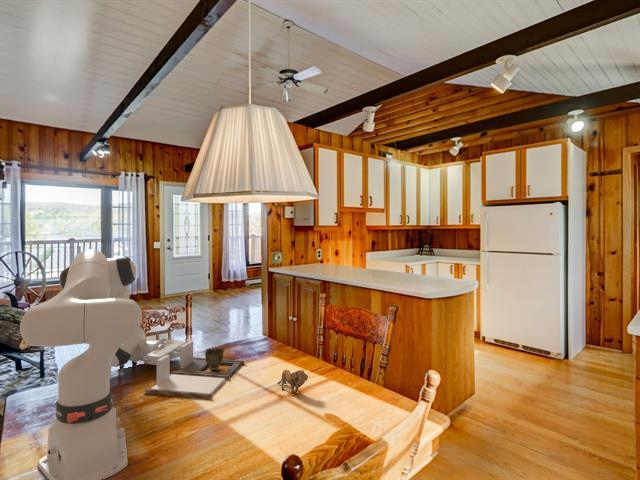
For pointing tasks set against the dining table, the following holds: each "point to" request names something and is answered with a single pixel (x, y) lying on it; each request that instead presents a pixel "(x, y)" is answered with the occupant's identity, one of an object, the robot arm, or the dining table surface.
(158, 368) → the white platform with upright
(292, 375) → the lion figurine
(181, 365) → the grey frame with upright
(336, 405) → the dining table surface
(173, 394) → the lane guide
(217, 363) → the cup
